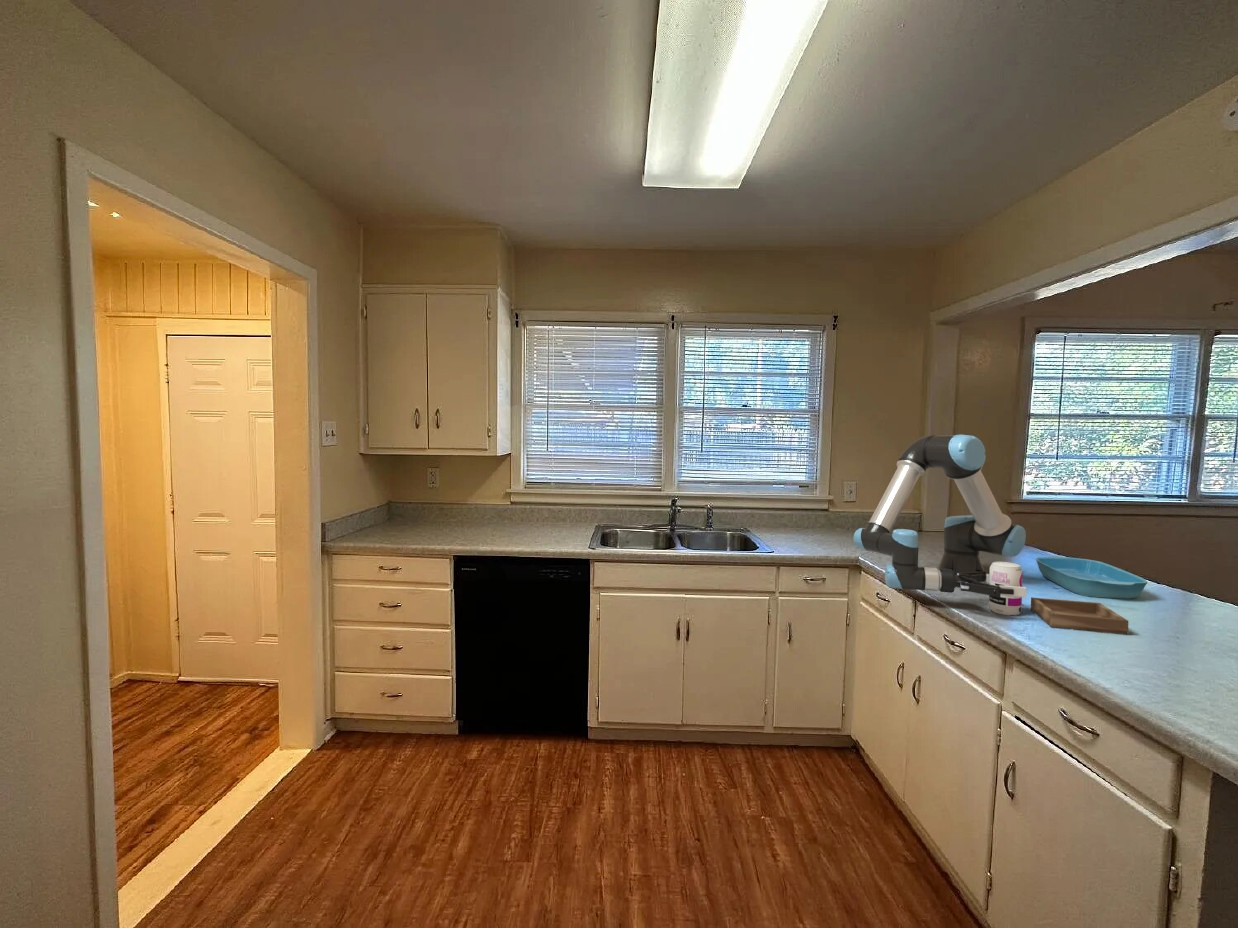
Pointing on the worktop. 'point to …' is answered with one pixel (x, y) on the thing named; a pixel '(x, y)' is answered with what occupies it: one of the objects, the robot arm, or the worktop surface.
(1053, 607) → the walnut tray
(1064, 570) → the casserole dish
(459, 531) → the worktop surface
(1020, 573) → the supplement can
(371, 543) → the worktop surface
